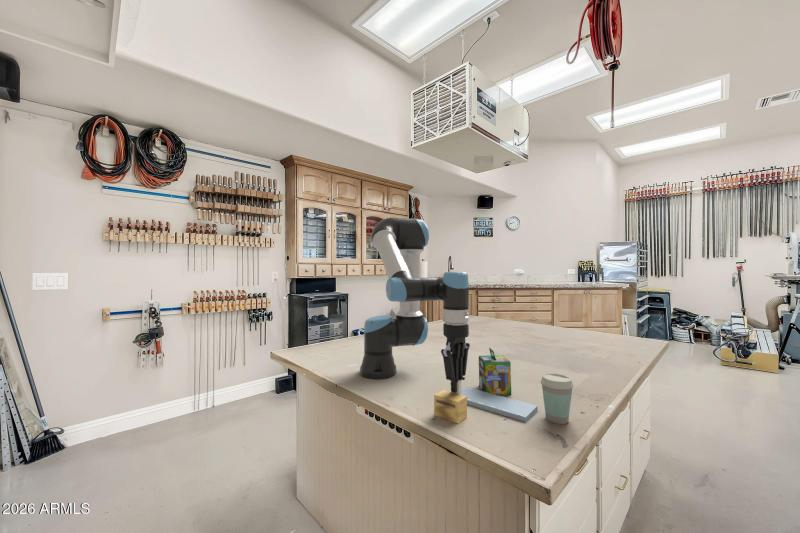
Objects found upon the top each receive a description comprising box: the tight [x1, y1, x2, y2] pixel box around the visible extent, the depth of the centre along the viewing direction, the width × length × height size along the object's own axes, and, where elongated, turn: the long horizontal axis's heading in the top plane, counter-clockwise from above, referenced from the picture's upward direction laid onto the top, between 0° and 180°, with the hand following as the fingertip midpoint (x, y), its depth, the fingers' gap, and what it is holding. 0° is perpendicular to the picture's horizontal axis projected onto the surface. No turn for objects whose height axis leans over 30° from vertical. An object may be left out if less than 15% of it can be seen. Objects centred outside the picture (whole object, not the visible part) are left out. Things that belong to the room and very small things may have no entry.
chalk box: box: [478, 347, 512, 396], centre depth 114 cm, size 9×9×15 cm
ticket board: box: [461, 386, 539, 423], centre depth 102 cm, size 24×10×2 cm, turn 49°
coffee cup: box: [540, 372, 574, 425], centre depth 92 cm, size 8×8×12 cm
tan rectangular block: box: [433, 389, 468, 424], centre depth 94 cm, size 8×5×6 cm, turn 49°
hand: (456, 401), depth 96 cm, fingers closed
